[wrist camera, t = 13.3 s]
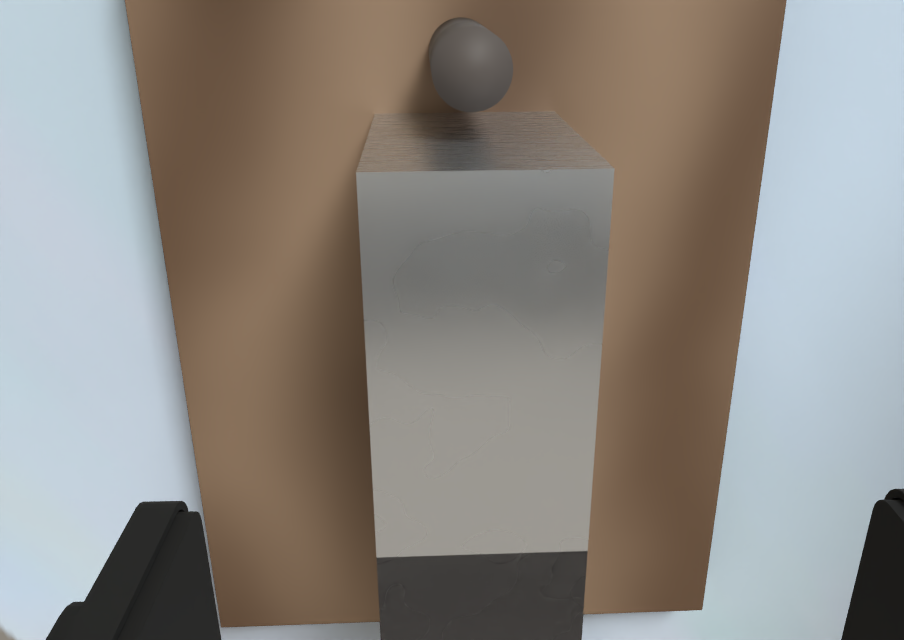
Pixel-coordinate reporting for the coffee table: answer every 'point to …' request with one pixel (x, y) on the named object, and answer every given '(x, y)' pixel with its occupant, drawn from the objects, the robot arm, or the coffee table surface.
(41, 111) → the coffee table surface
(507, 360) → the block
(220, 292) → the pin tray
